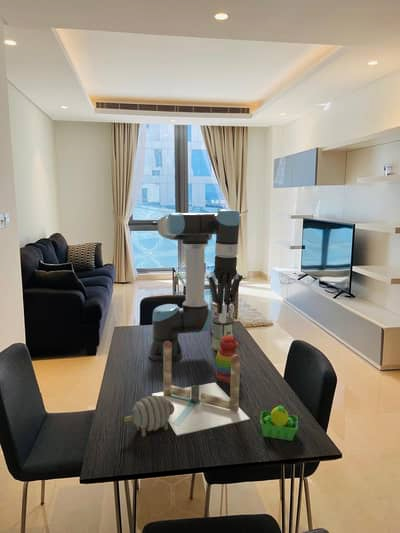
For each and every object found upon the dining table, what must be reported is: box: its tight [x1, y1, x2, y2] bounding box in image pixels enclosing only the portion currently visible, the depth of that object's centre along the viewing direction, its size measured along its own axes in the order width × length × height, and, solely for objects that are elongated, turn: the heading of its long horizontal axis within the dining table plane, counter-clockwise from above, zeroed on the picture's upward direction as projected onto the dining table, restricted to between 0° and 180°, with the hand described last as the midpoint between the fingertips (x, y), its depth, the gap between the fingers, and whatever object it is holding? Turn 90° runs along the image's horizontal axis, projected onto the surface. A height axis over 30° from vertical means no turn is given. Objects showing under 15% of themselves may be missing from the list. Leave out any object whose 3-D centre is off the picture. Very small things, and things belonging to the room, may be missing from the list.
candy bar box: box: [209, 301, 234, 334], centre depth 219 cm, size 11×5×16 cm, turn 66°
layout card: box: [151, 382, 251, 437], centre depth 146 cm, size 28×26×1 cm
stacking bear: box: [215, 334, 242, 384], centre depth 167 cm, size 11×10×18 cm
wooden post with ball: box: [162, 341, 199, 403], centre depth 149 cm, size 15×3×21 cm, turn 66°
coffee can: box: [211, 317, 235, 352], centre depth 199 cm, size 10×10×14 cm
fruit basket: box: [259, 405, 299, 441], centre depth 129 cm, size 11×9×11 cm
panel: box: [201, 353, 242, 412], centre depth 143 cm, size 14×3×20 cm, turn 65°
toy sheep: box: [123, 395, 174, 438], centre depth 130 cm, size 11×17×11 cm, turn 125°
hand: (222, 321), depth 144 cm, fingers closed
